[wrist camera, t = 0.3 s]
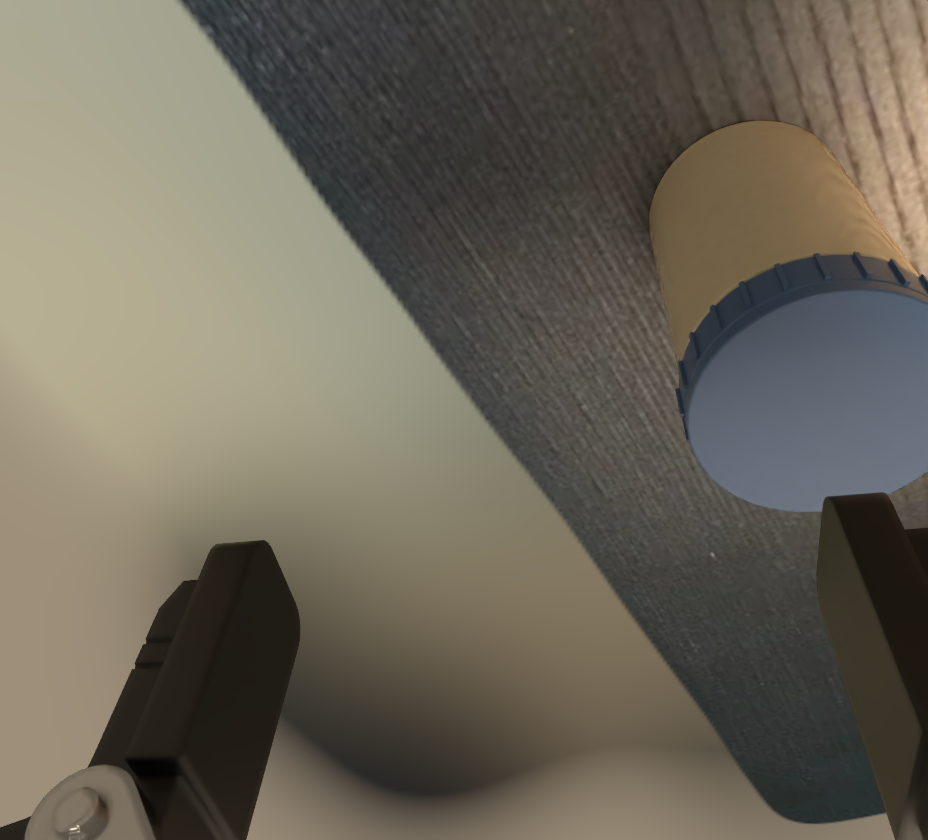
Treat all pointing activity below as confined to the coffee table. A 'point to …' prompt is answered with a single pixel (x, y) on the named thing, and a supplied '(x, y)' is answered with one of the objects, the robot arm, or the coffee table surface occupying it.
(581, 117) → the coffee table surface
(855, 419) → the jar lid
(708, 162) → the jar
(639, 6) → the coffee table surface
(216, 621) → the robot arm
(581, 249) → the coffee table surface
